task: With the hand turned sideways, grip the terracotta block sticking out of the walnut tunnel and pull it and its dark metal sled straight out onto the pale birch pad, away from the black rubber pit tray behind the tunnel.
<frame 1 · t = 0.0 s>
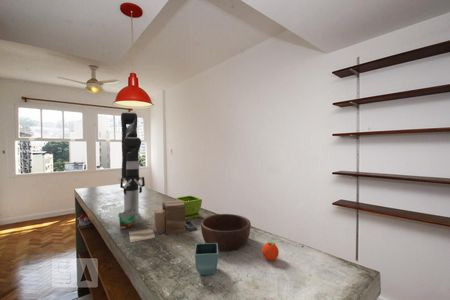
hand: (132, 193, 135), 17 cm above the counter, tool pointing down, fingers open, 8 cm apart
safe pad: (141, 234, 114), on the counter
flower pot: (206, 271, 82), on the counter
flower pot 2: (188, 217, 143), on the counter
tunnel: (173, 229, 122), on the counter
wooden bowl: (225, 242, 107), on the counter
clementine: (270, 259, 91), on the counter
pit tray: (189, 226, 126), on the counter
sled: (168, 219, 120), point 6 cm above the counter, slide at 0.0 cm
food container: (130, 227, 125), on the counter
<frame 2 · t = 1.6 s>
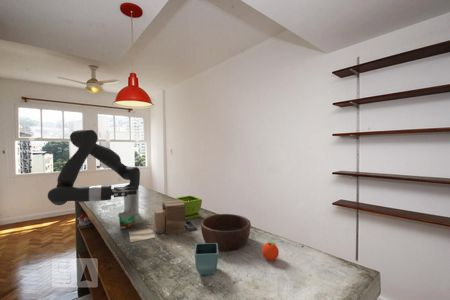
hand: (135, 190, 112), 24 cm above the counter, tool horizontal, fingers open, 8 cm apart
nothing on the counter moved.
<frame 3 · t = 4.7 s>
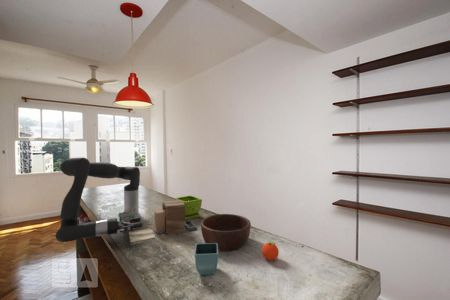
hand: (141, 222, 114), 7 cm above the counter, tool horizontal, fingers open, 8 cm apart
nothing on the counter moved.
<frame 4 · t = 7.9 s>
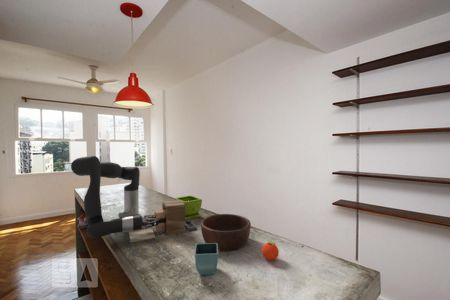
hand: (164, 218, 119), 7 cm above the counter, tool horizontal, fingers closed on sled, 5 cm apart
sled: (169, 219, 120), point 6 cm above the counter, slide at 0.0 cm, touching gripper
everything else where it was.
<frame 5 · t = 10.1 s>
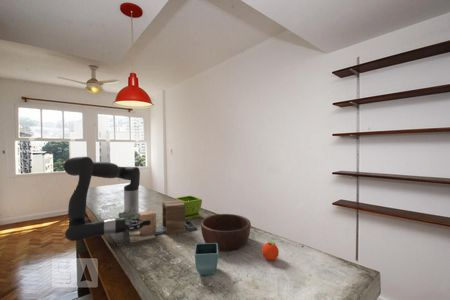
hand: (149, 220, 116), 7 cm above the counter, tool horizontal, fingers closed on sled, 5 cm apart
sled: (154, 221, 117), point 6 cm above the counter, slide at 8.1 cm, touching gripper
everything else where it was.
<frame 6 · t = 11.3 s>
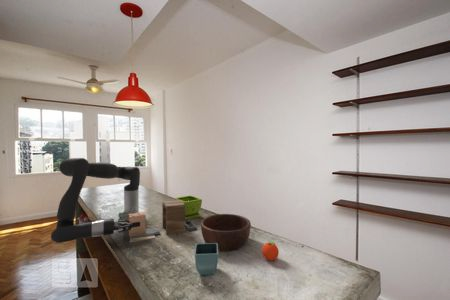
hand: (139, 222, 113), 7 cm above the counter, tool horizontal, fingers closed on sled, 5 cm apart
sled: (144, 223, 115), point 6 cm above the counter, slide at 13.2 cm, touching gripper
everything else where it was.
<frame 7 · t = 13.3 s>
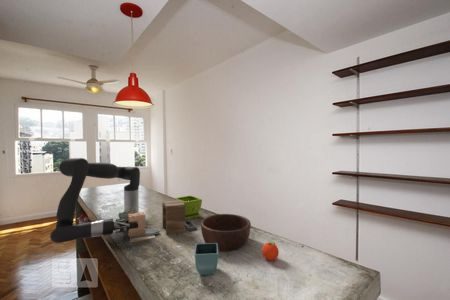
hand: (137, 222, 113), 7 cm above the counter, tool horizontal, fingers open, 8 cm apart
sled: (143, 223, 114), point 6 cm above the counter, slide at 13.5 cm
everything else where it was.
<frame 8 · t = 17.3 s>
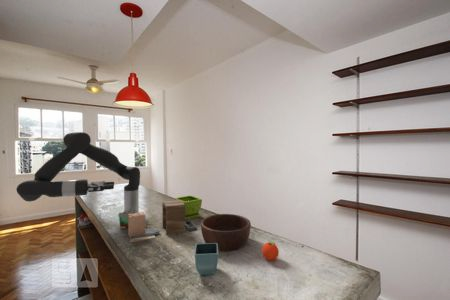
hand: (114, 185, 108), 28 cm above the counter, tool horizontal, fingers open, 8 cm apart
nothing on the counter moved.
at the end: sled slide at 13.5 cm; the gripper is holding nothing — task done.
